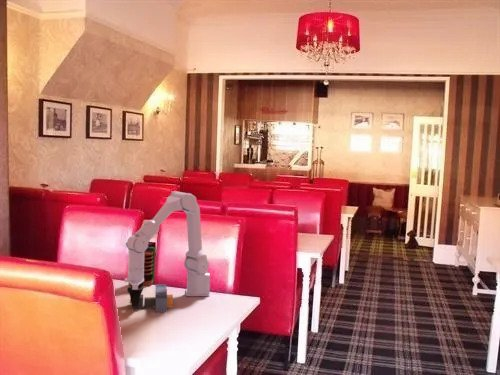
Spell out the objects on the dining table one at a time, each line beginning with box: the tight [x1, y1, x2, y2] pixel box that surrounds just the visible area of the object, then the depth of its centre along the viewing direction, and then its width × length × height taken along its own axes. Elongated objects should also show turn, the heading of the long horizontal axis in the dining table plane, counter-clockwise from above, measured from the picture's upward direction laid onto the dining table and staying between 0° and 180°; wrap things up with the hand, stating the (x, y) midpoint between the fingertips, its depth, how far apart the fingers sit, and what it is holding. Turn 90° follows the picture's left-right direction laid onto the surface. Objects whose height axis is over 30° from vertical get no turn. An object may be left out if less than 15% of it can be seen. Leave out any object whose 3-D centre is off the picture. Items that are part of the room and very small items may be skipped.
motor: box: [142, 246, 156, 287], centre depth 210 cm, size 10×9×20 cm
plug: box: [129, 293, 174, 310], centre depth 182 cm, size 16×4×4 cm, turn 101°
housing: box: [154, 283, 168, 313], centre depth 183 cm, size 4×14×6 cm, turn 11°
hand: (135, 303), depth 181 cm, fingers open, 7 cm apart
